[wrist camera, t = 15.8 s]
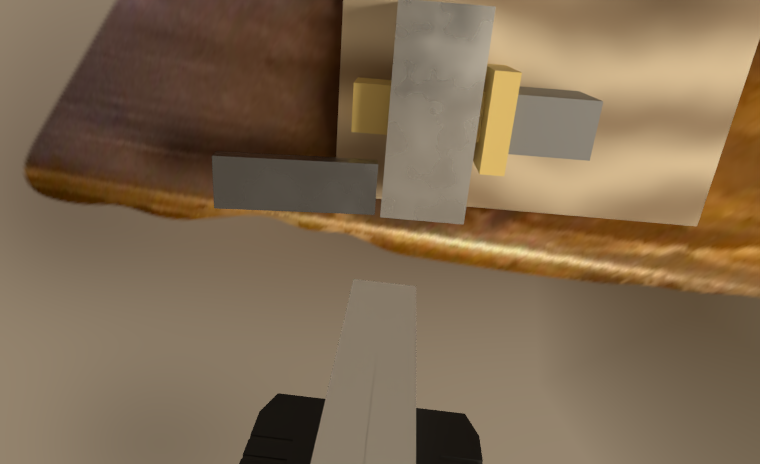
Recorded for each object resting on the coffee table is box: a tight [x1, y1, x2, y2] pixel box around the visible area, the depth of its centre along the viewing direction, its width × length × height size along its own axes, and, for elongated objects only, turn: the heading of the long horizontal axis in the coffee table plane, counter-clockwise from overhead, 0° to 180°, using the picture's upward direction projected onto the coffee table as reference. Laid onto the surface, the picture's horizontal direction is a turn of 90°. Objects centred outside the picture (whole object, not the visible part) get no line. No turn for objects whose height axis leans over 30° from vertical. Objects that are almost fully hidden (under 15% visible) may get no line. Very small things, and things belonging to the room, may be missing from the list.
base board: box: [336, 0, 760, 226], centre depth 35 cm, size 15×26×1 cm, turn 86°
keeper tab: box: [212, 151, 378, 215], centre depth 30 cm, size 3×9×1 cm, turn 86°
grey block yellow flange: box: [351, 64, 603, 176], centre depth 33 cm, size 6×14×5 cm, turn 86°
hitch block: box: [380, 0, 496, 224], centre depth 32 cm, size 12×5×6 cm, turn 176°
